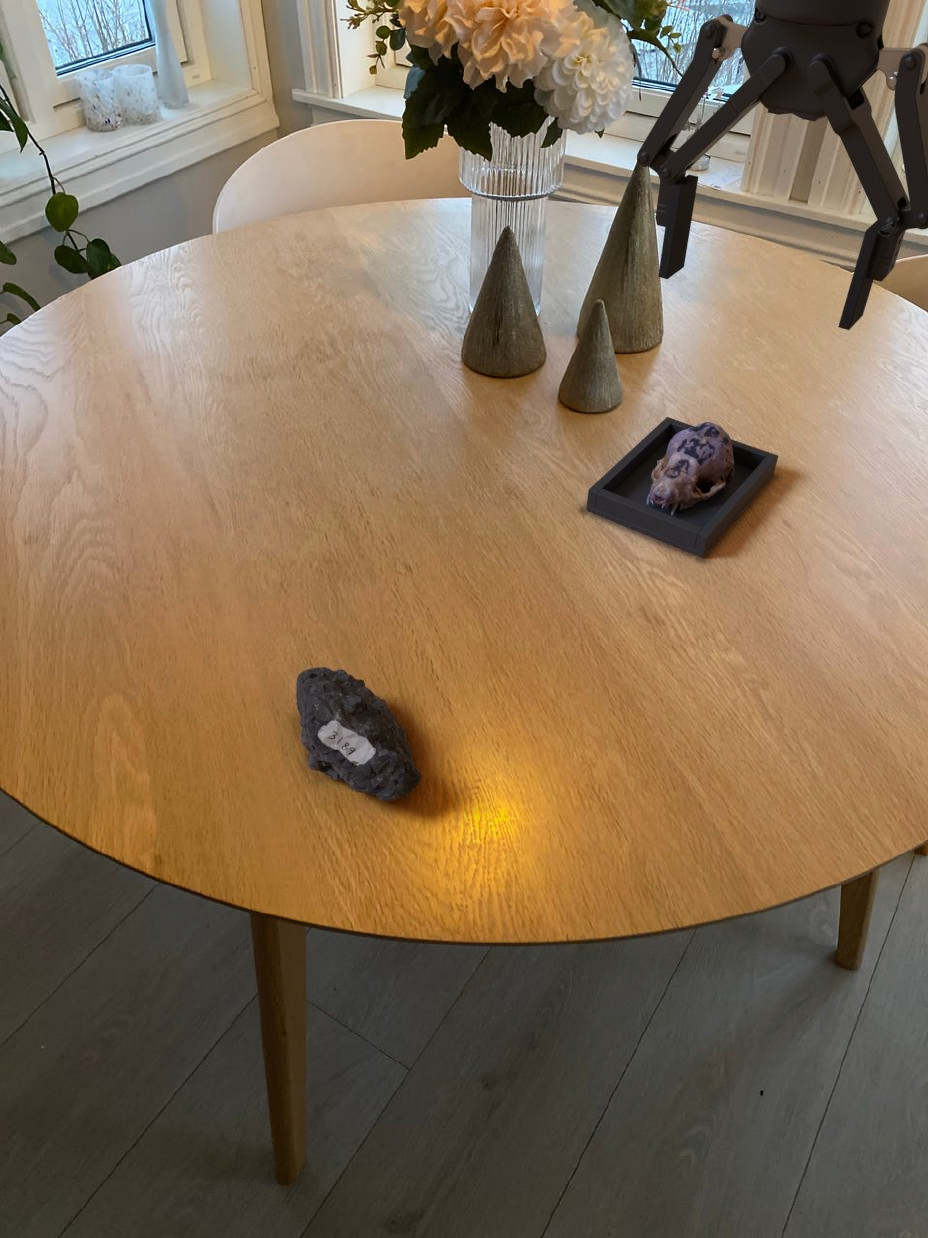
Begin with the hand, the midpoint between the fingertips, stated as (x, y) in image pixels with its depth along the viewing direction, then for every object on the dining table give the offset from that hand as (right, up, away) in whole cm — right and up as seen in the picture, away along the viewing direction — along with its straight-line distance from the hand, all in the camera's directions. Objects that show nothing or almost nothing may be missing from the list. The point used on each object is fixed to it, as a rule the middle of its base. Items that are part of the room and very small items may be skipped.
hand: (756, 296), depth 68 cm
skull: (+2, -10, +31) cm, 33 cm away
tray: (+2, -10, +31) cm, 33 cm away
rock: (-29, -33, +7) cm, 45 cm away
